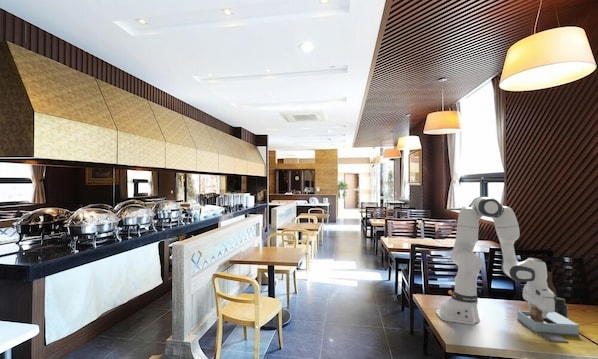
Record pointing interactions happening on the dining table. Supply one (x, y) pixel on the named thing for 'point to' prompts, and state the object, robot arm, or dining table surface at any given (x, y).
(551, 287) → the beer bottle
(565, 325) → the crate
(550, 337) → the pad
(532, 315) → the walnut block
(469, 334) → the dining table surface
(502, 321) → the dining table surface
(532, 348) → the dining table surface
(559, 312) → the supplement bottle
